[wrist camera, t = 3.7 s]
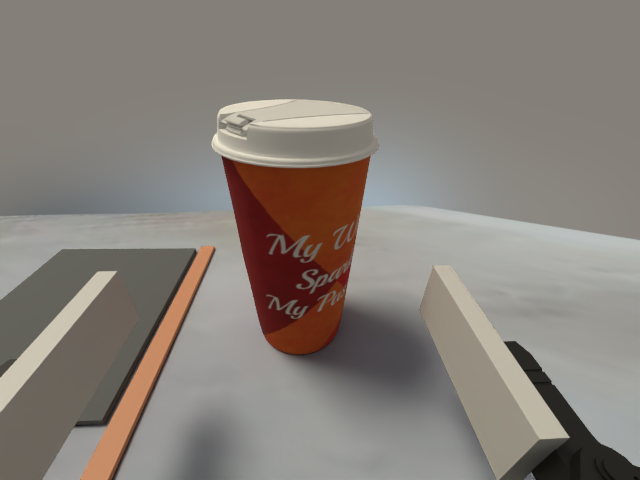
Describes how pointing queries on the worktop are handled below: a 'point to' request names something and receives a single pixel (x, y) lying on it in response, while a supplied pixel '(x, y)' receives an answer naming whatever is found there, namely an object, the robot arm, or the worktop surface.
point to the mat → (63, 285)
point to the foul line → (145, 377)
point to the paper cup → (296, 209)
